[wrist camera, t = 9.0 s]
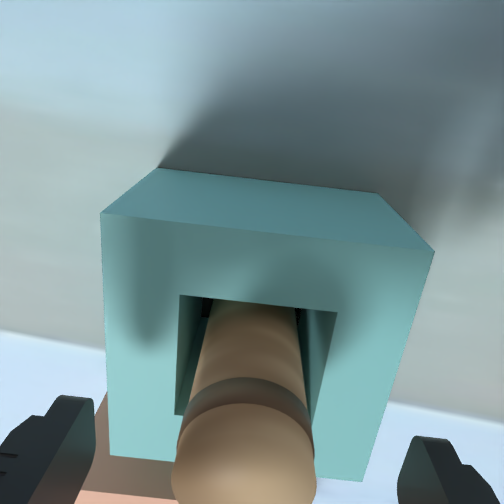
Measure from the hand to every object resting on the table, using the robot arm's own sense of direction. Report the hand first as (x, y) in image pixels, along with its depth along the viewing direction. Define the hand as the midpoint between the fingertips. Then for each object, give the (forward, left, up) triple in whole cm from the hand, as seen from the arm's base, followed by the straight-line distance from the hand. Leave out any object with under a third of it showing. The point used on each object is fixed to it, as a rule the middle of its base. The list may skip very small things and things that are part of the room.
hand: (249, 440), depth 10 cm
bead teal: (0, 0, -9) cm, 9 cm away
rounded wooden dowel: (0, 0, -9) cm, 9 cm away
